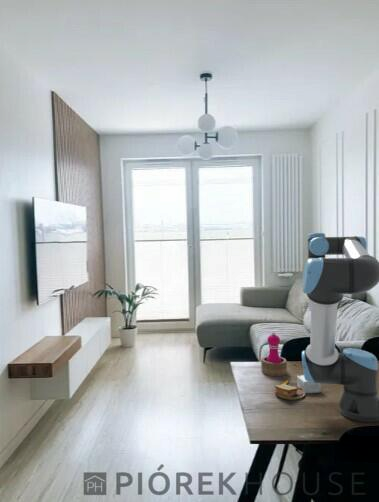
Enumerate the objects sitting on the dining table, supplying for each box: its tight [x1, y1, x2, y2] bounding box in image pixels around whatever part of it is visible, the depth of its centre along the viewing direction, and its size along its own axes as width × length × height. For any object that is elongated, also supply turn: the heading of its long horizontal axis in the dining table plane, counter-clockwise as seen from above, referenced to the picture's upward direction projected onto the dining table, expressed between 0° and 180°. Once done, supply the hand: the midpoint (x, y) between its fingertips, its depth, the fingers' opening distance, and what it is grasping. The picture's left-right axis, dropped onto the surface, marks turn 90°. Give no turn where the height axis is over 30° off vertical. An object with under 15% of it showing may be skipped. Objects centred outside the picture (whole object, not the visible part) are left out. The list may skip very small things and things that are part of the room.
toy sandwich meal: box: [274, 380, 306, 401], centre depth 157 cm, size 12×14×5 cm
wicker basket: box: [260, 355, 288, 377], centre depth 185 cm, size 12×12×6 cm
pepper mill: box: [267, 331, 281, 363], centre depth 184 cm, size 7×7×20 cm
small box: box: [296, 374, 322, 394], centre depth 162 cm, size 8×8×5 cm
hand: (317, 313), depth 168 cm, fingers open, 13 cm apart
